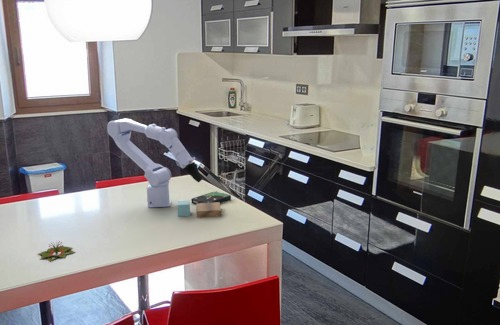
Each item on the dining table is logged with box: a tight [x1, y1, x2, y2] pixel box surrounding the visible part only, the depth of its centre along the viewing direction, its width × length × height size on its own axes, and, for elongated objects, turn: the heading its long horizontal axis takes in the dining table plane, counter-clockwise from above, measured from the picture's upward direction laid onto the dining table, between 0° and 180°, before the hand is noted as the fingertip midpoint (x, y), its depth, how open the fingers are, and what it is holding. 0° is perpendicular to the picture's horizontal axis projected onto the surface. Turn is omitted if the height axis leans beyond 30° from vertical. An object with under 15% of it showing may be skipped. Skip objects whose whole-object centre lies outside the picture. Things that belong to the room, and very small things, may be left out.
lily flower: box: [37, 240, 76, 262], centre depth 152 cm, size 12×12×5 cm
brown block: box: [195, 202, 222, 218], centre depth 189 cm, size 10×10×3 cm
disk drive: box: [190, 191, 232, 206], centre depth 203 cm, size 10×3×15 cm
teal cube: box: [176, 199, 191, 217], centre depth 187 cm, size 5×5×5 cm
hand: (199, 180), depth 189 cm, fingers open, 7 cm apart
